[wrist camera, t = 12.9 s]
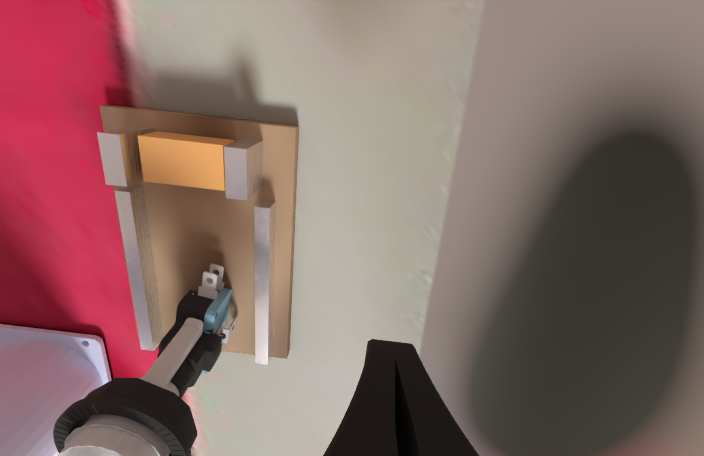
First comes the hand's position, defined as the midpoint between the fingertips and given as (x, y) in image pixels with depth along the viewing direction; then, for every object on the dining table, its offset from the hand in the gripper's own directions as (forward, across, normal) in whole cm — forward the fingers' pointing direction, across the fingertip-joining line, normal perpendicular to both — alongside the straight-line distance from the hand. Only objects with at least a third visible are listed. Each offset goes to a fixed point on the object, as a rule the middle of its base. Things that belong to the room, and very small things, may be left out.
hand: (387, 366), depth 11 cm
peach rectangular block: (+9, +10, -3) cm, 14 cm away
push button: (+10, +10, +6) cm, 15 cm away
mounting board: (+10, +10, +2) cm, 15 cm away
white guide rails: (+10, +10, +2) cm, 15 cm away
